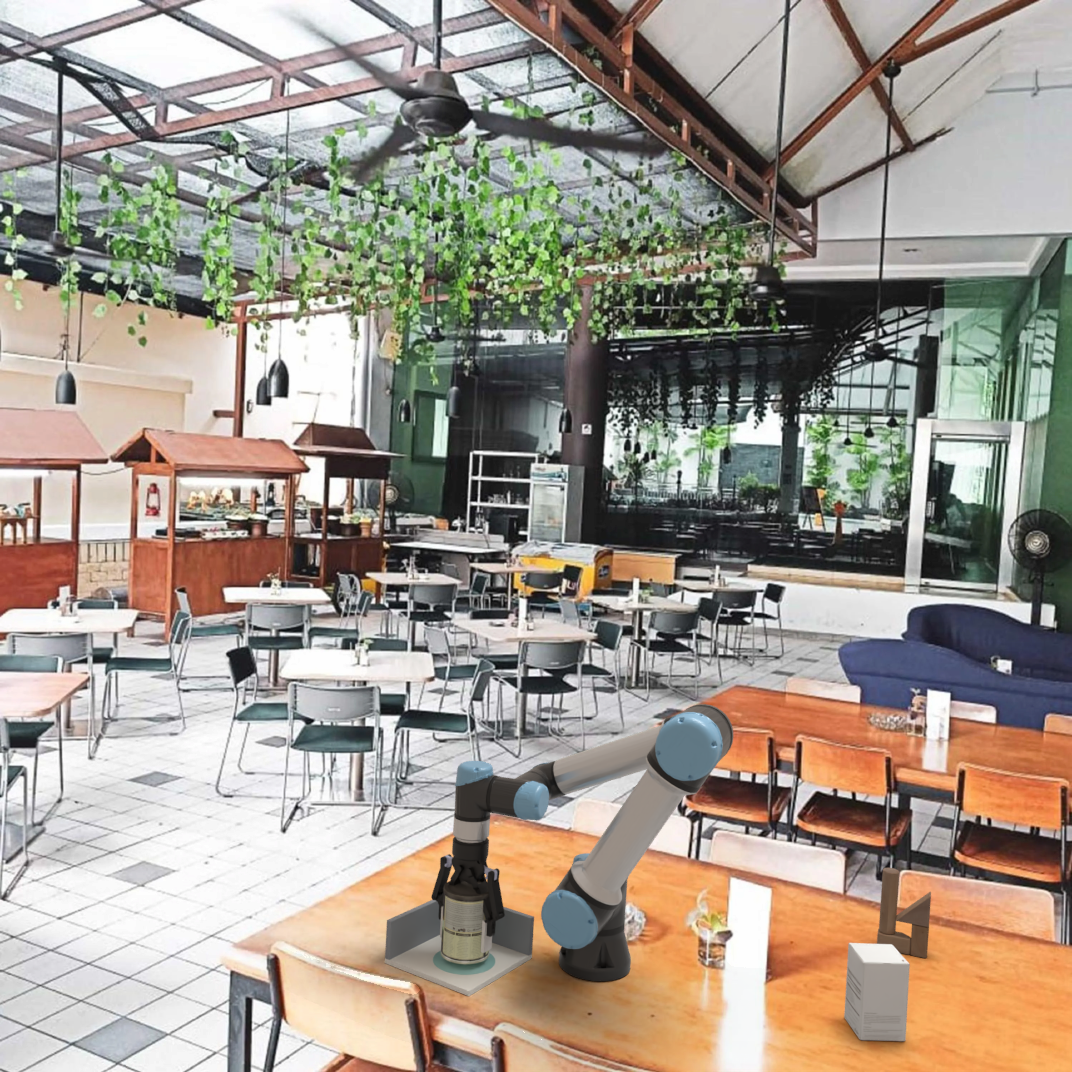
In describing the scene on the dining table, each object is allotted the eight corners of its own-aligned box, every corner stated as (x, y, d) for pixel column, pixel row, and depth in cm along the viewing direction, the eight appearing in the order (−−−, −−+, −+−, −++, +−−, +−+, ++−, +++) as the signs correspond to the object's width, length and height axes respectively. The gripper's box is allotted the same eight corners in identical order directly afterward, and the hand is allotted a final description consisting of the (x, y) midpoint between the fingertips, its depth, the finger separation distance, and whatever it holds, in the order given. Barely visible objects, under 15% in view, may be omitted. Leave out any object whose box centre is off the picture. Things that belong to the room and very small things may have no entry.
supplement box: (888, 1018, 199) (893, 943, 199) (906, 1042, 190) (911, 963, 190) (842, 1016, 199) (847, 941, 198) (858, 1040, 190) (863, 961, 189)
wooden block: (926, 959, 227) (932, 879, 227) (876, 948, 231) (881, 870, 231) (927, 952, 231) (932, 874, 230) (877, 942, 235) (882, 865, 234)
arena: (531, 958, 217) (534, 916, 216) (468, 996, 198) (471, 950, 198) (451, 929, 229) (453, 890, 229) (384, 963, 210) (387, 920, 210)
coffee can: (433, 946, 214) (436, 880, 214) (478, 940, 218) (482, 875, 218) (450, 967, 205) (453, 898, 204) (497, 960, 209) (500, 893, 209)
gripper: (526, 845, 208) (520, 952, 208) (440, 821, 220) (434, 922, 221) (504, 854, 201) (498, 965, 202) (417, 829, 214) (412, 933, 215)
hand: (465, 942), depth 211 cm, fingers closed on coffee can, 10 cm apart
